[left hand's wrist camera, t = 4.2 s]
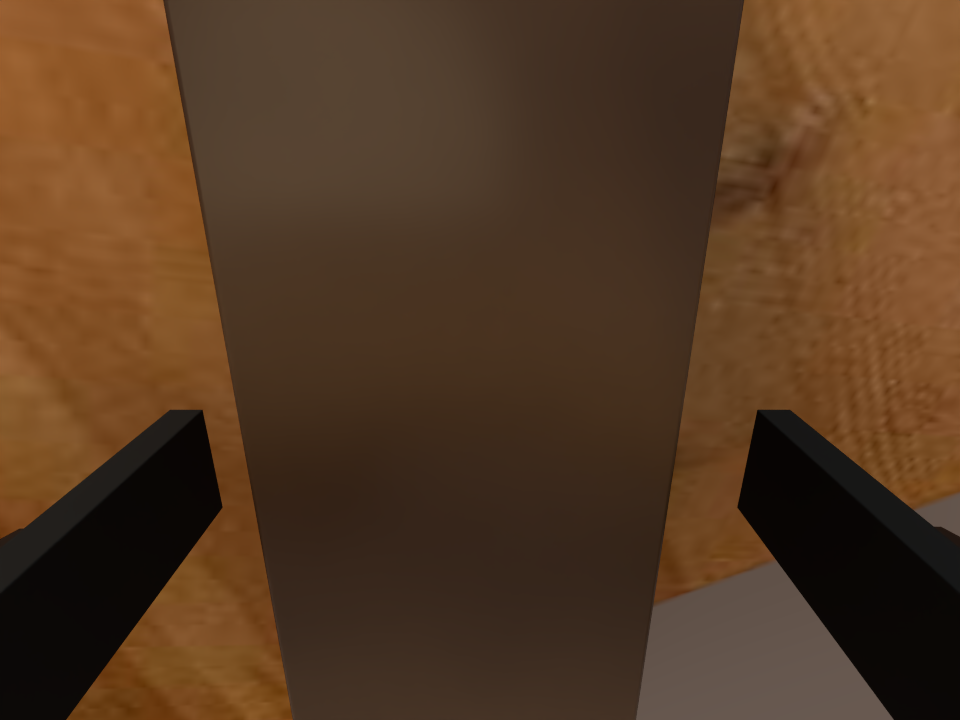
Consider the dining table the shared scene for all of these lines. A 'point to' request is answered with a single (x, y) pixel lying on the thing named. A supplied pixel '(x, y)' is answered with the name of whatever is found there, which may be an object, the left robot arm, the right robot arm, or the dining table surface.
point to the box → (458, 329)
